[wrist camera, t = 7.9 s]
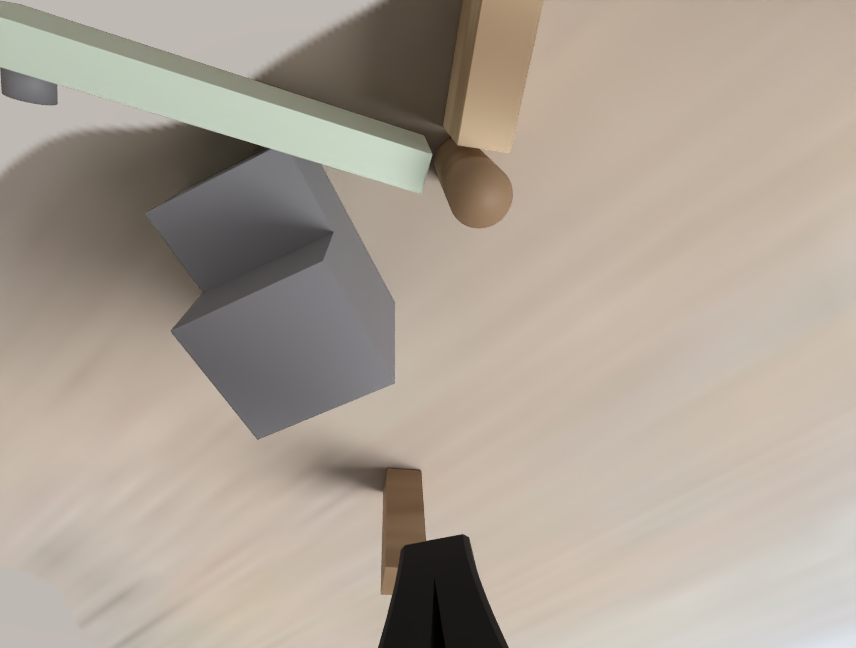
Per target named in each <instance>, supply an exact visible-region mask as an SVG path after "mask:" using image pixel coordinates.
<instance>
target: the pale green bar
mask: <svg viewBox="0 0 856 648" xmlns="http://www.w3.org/2000/svg"><path fill="white" fill-rule="evenodd" d="M0 69H1V87H2V94H3V95H6V96H8V97H10V98H13V99H17V100H20V101H24V102H29V103H34V104H41V105H57V84H58V85H61V86H65V87H68V88H71V89H75V90H78V91H81V92H84V93H88V94H91V95H94V96H98V97H101V98H105V99H108V100H111V101H115V102H118V103H121V104H124V105H128V106H131V107H135V108H138V109H141V110H144V111H148V112H151V113H154V114H158V115H161V116H164V117H167V118H171V119H174V120H177V121H181V122H184V123H187V124H191V125H194V126H197V127H201V128H204V129H207V130H211V131H214V132H217V133H221V134H224V135H227V136H230V137H234V138H237V139H240V140H244V141H247V142H250V143H254V144H257V145H260V146H264V147H267V148H270V149H274V150H277V151H280V152H284V153H287V154H290V155H294V156H297V157H300V158H304V159H307V160H310V161H313V162H317V163H320V164H323V165H327V166H330V167H333V168H337V169H340V170H343V171H347V172H350V173H353V174H357V175H360V176H363V177H367V178H370V179H373V180H377V181H380V182H383V183H386V184H390V185H393V186H396V187H400V188H403V189H406V190H410V191H413V192H416V193H420V194H421V191H422V188H423V185H424V181H425V178H426V175H427V171H428V168H429V165H430V161H431V158H432V155H433V154H432V152H431V150H430V148H429V145H428V143H427V141H426V139H425V136H424V135H421V134H418V133H415V132H412V131H409V130H406V129H403V128H399V127H396V126H393V125H390V124H387V123H384V122H381V121H378V120H375V119H372V118H369V117H366V116H363V115H359V114H356V113H353V112H350V111H347V110H344V109H341V108H338V107H335V106H332V105H329V104H326V103H323V102H319V101H316V100H313V99H310V98H307V97H304V96H301V95H298V94H295V93H292V92H289V91H286V90H283V89H279V88H276V87H273V86H270V85H267V84H264V83H261V82H258V81H255V80H252V79H249V78H246V77H242V76H239V75H236V74H233V73H230V72H227V71H224V70H221V69H218V68H215V67H212V66H209V65H206V64H202V63H199V62H196V61H193V60H190V59H187V58H184V57H181V56H178V55H175V54H172V53H169V52H165V51H162V50H159V49H156V48H153V47H150V46H147V45H144V44H141V43H138V42H134V41H131V40H128V39H125V38H122V37H119V36H116V35H113V34H110V33H107V32H104V31H101V30H98V29H95V28H92V27H88V26H85V25H82V24H79V23H76V22H73V21H70V20H67V19H64V18H61V17H58V16H55V15H52V14H49V13H45V12H42V11H39V10H36V9H33V8H30V7H26V6H24V5H21V4H16V3H10V2H4V1H0Z"/></svg>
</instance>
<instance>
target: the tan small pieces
mask: <svg viewBox="0 0 856 648" xmlns="http://www.w3.org/2000/svg"><path fill="white" fill-rule="evenodd" d="M542 5H543V0H462V7H461V13H460V20H459V26H458V32H457V39H456V45H455V52H454V58H453V65H452V71H451V77H450V84H449V90H448V97H447V103H446V109H445V116H444V122H443V128H444V129H445V130H446V132H447V133H448V134H449V135H450V136H451V139H449V140H447V141H445V142H444V143H443V144H441V146H440V147H439V148H438V150H437V152H436V154H435V158H434V166H435V170H436V173H437V176H438V178H439V181H440V183H441V186H442V188H443V191H444V193H445V196H446V198H447V201H448V203H449V206H450V208H451V210H452V213H453V214H454V216H455V217H456V218H457V219H458V220H459V221H460V222H461V223H462V224H464V225H466V226H469V227H472V228H486V227H489V226H492V225H494V224H496V223H497V222H499V221H500V220H501V219H502V218H503V217H504V216H505V215H506V214H507V212H508V210H509V208H510V206H511V203H512V198H513V190H512V185H511V182H510V180H509V178H508V177H507V175H506V174H505V173H504V172H503V171H502V170H501V169H500V168H499V167H498V166H497V165H496V164H495V163H494V162H493V161H492V160H491V159H490V158H488V157H487V156H486V155H485V154H484V153H483V152H482V151H481V150H480V149H485V150H492V151H498V152H504V153H510V152H511V147H512V143H513V138H514V133H515V129H516V124H517V120H518V115H519V111H520V106H521V101H522V97H523V92H524V88H525V83H526V78H527V74H528V69H529V65H530V60H531V55H532V51H533V46H534V42H535V37H536V32H537V28H538V23H539V19H540V14H541V9H542ZM424 541H426V534H425V519H424V504H423V489H422V474H421V471H420V470H407V469H393V468H387V473H386V479H385V486H384V492H383V527H382V565H381V594H382V595H392V594H393V589H394V585H395V580H396V575H397V570H398V564H399V558H400V551H401V549H402V548H403V547H404V546H405V545H408V544H413V543H419V542H424Z"/></svg>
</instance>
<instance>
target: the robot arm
mask: <svg viewBox="0 0 856 648" xmlns="http://www.w3.org/2000/svg"><path fill="white" fill-rule="evenodd" d="M378 648H509V647H508V645H507V643H506V641H505V639H504V636H503V634H502V632H501V630H500V628H499V625H498V623H497V621H496V619H495V617H494V614H493V612H492V609H491V607H490V605H489V602H488V600H487V597H486V594H485V592H484V589H483V586H482V584H481V581H480V578H479V575H478V572H477V569H476V565H475V560H474V556H473V552H472V548H471V544H470V540H469V537H467V536H465V535H463V534H461V535H456V536H451V537H445V538H440V539H435V540H429V541H424V542H419V543H413V544H408V545H405V546H404V547H403V548H402V549H401V551H400V558H399V564H398V570H397V575H396V580H395V585H394V589H393V594H392V598H391V602H390V606H389V610H388V614H387V618H386V622H385V625H384V629H383V632H382V636H381V639H380V643H379V646H378Z"/></svg>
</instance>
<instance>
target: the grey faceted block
mask: <svg viewBox="0 0 856 648" xmlns="http://www.w3.org/2000/svg"><path fill="white" fill-rule="evenodd" d="M145 214H146V216H147V217H148V219H149V220H150V221H151V223H152V224H153V225H154V227H155V228H156V229H157V231H158V232H159V234H160V235H161V236H162V238H163V239H164V240H165V242H166V243H167V244H168V246H169V247H170V249H171V250H172V251H173V253H174V254H175V255H176V257H177V258H178V259H179V261H180V262H181V264H182V265H183V266H184V268H185V269H186V270H187V272H188V273H189V274H190V276H191V277H192V279H193V280H194V281H195V283H196V284H197V285H198V287H199V288H200V289H201V291H202V292H203V294H202V295H201V296H200V297H199V298H198V299H197V301H196V302H195V303H194V304H193V305H192V306H191V308H190V309H189V310H188V311H187V312H186V313H185V315H184V316H183V317H182V318H181V319H180V320H179V322H178V323H177V324H176V325H175V326H174V327H173V329H172V330H171V332H172V334H173V335H174V336H175V337H176V339H177V340H178V341H179V342H180V344H181V345H182V346H183V347H184V349H185V350H186V351H187V352H188V354H189V355H190V356H191V357H192V359H193V360H194V361H195V362H196V364H197V365H198V366H199V367H200V369H201V370H202V371H203V372H204V374H205V375H206V376H207V377H208V379H209V380H210V381H211V382H212V384H213V385H214V386H215V387H216V389H217V390H218V391H219V392H220V394H221V395H222V396H223V397H224V399H225V400H226V401H227V402H228V404H229V405H230V406H231V407H232V409H233V410H234V411H235V412H236V414H237V415H238V416H239V417H240V419H241V420H242V421H243V422H244V424H245V425H246V426H247V427H248V428H249V430H250V431H251V432H252V433H253V435H254V436H255V437H256V438H257V440H258V439H261V438H263V437H265V436H268V435H270V434H273V433H275V432H278V431H280V430H282V429H285V428H287V427H290V426H292V425H295V424H297V423H299V422H302V421H304V420H307V419H309V418H312V417H314V416H316V415H319V414H321V413H324V412H326V411H329V410H331V409H333V408H336V407H338V406H341V405H343V404H346V403H348V402H350V401H353V400H355V399H358V398H360V397H363V396H365V395H367V394H370V393H372V392H375V391H377V390H379V389H382V388H384V387H387V386H389V385H392V384H394V383H395V302H394V300H393V298H392V296H391V294H390V292H389V290H388V289H387V287H386V285H385V283H384V281H383V279H382V277H381V275H380V274H379V272H378V270H377V268H376V266H375V264H374V262H373V260H372V259H371V257H370V255H369V253H368V251H367V249H366V247H365V246H364V244H363V242H362V240H361V238H360V236H359V234H358V232H357V231H356V229H355V227H354V225H353V223H352V221H351V219H350V217H349V216H348V214H347V212H346V210H345V208H344V206H343V204H342V202H341V201H340V199H339V197H338V195H337V193H336V191H335V189H334V187H333V186H332V184H331V182H330V180H329V178H328V176H327V174H326V173H325V171H324V169H323V167H322V165H321V164H320V163H317V162H313V161H310V160H307V159H304V158H300V157H297V156H294V155H290V154H287V153H284V152H280V151H277V150H274V149H270V148H267V149H265V150H263V151H261V152H259V153H257V154H255V155H253V156H251V157H249V158H247V159H245V160H243V161H241V162H239V163H237V164H235V165H233V166H231V167H229V168H227V169H225V170H223V171H221V172H219V173H217V174H215V175H213V176H211V177H209V178H207V179H205V180H203V181H201V182H199V183H197V184H195V185H193V186H191V187H189V188H187V189H185V190H184V191H182V192H180V193H178V194H177V195H175V196H173V197H172V198H170V199H168V200H166V201H165V202H163V203H161V204H159V205H158V206H156V207H154V208H153V209H151V210H149V211H147V212H146V213H145Z"/></svg>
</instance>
